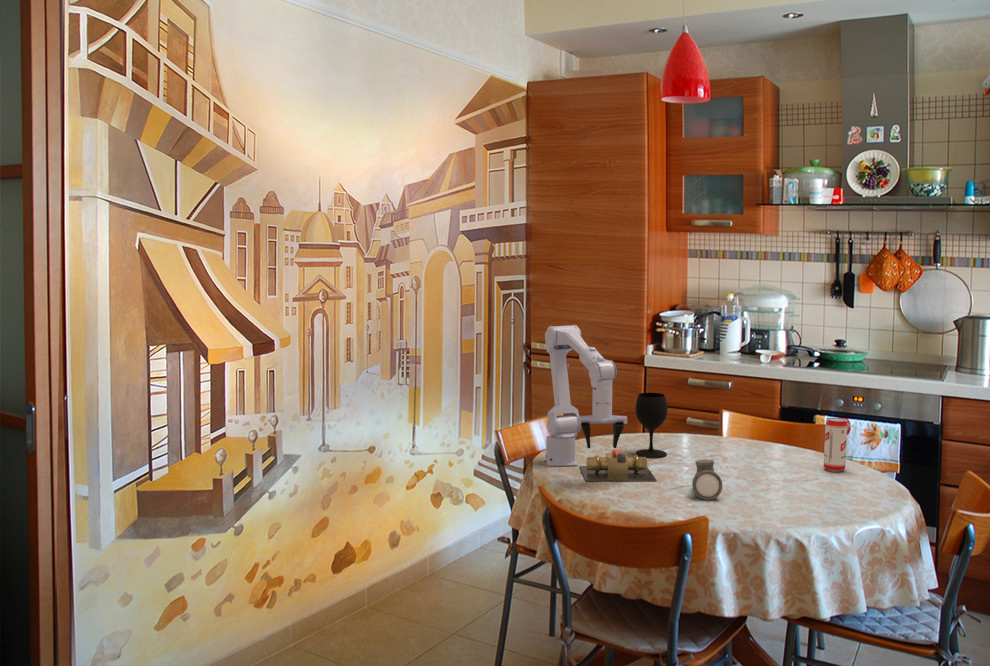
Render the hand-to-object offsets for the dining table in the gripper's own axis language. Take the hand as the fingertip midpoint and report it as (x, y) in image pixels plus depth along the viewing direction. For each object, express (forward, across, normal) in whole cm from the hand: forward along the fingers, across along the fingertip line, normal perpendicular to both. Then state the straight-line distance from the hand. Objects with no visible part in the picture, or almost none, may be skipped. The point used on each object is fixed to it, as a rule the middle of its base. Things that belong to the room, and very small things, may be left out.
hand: (601, 447), depth 251 cm
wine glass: (+11, +21, +31) cm, 39 cm away
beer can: (+11, +74, +11) cm, 76 cm away
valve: (+10, +6, +9) cm, 15 cm away
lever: (+5, +6, +4) cm, 9 cm away
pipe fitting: (+11, +28, -12) cm, 32 cm away
